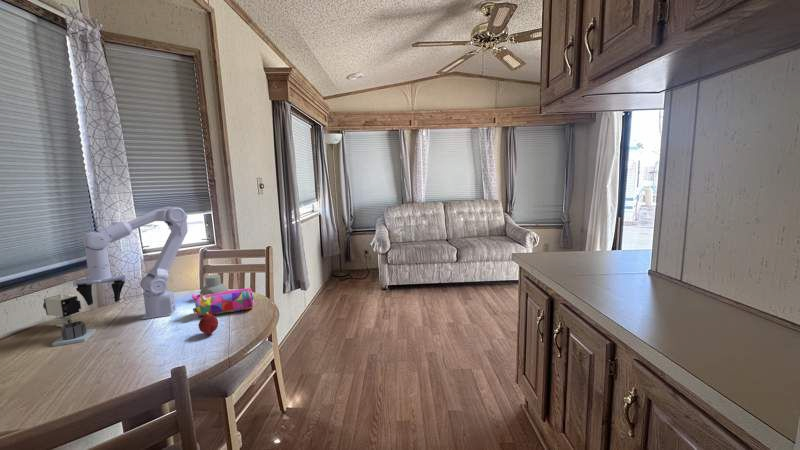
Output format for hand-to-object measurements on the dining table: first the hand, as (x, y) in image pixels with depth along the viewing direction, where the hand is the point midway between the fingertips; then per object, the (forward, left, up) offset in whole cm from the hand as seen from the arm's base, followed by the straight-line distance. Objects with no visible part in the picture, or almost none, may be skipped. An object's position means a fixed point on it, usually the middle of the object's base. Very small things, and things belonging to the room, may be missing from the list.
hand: (104, 302), depth 116 cm
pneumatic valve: (+16, -11, -10) cm, 22 cm away
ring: (+7, +5, -9) cm, 12 cm away
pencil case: (-38, +1, -10) cm, 39 cm away
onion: (-35, +21, -10) cm, 42 cm away
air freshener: (-32, -21, -10) cm, 39 cm away
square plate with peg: (+7, +5, -10) cm, 13 cm away
